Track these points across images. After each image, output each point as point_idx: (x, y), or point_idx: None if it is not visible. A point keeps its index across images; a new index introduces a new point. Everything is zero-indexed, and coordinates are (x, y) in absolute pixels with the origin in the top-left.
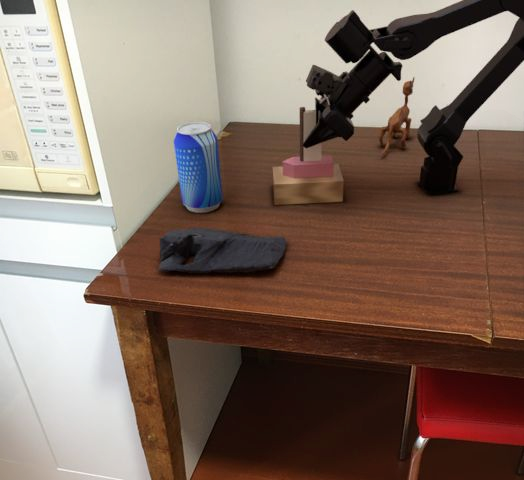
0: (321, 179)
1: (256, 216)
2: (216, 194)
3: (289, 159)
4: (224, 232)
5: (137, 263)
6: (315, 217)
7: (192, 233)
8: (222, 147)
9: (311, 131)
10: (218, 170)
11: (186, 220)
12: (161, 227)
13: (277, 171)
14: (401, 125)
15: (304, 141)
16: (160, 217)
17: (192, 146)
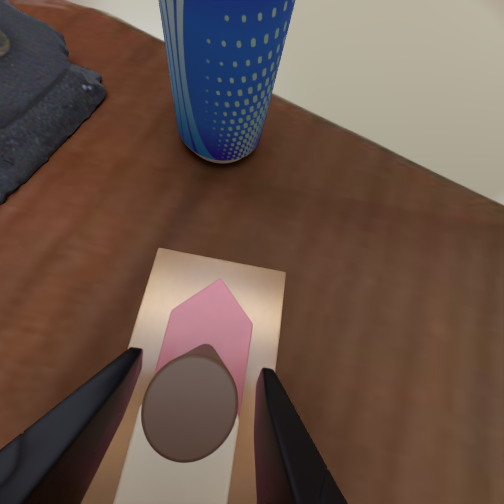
0: (131, 414)
1: (127, 215)
2: (183, 127)
3: (232, 307)
4: (14, 115)
5: (41, 19)
6: (49, 353)
7: (9, 51)
8: (495, 224)
9: (74, 430)
10: (194, 90)
11: (166, 102)
12: (155, 67)
13: (248, 278)
14: None
15: (129, 360)
16: None
17: None
